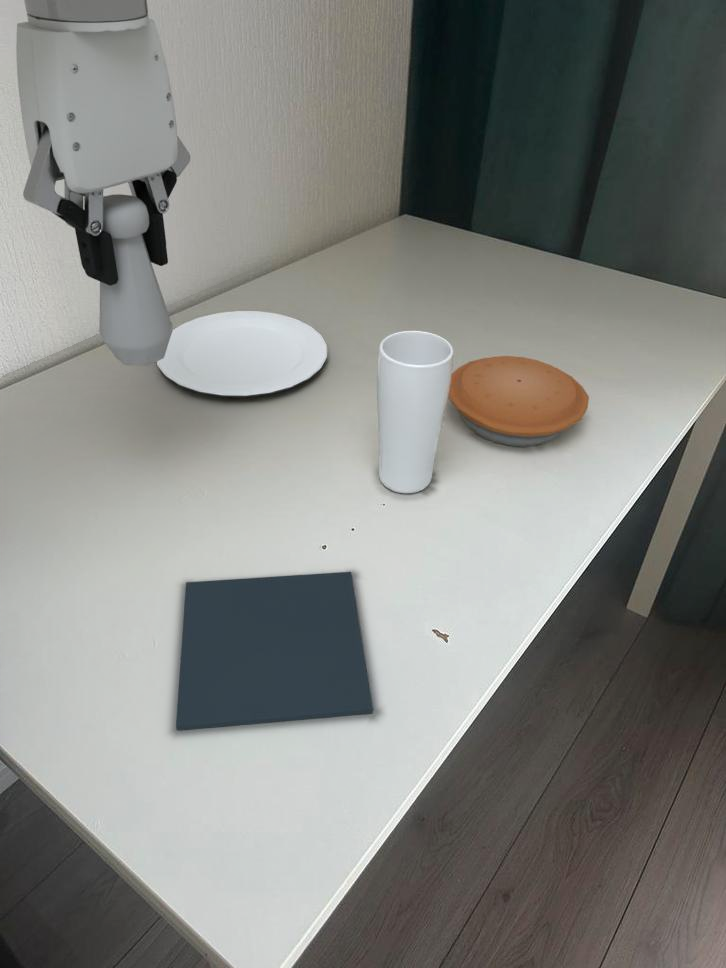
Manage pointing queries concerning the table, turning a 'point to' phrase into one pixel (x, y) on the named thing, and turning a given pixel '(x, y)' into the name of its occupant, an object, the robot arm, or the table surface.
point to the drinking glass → (411, 406)
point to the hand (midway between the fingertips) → (127, 267)
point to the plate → (243, 354)
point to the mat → (271, 651)
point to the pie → (516, 399)
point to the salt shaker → (132, 288)
